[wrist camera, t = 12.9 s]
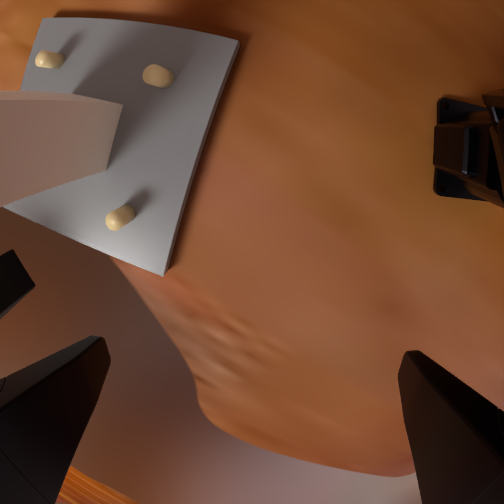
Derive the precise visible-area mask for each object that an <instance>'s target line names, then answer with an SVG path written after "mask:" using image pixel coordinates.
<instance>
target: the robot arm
mask: <svg viewBox="0 0 504 504" xmlns="http://www.w3.org/2000/svg"><path fill="white" fill-rule="evenodd" d="M482 98H483V101H484V104H485V105H486V106H487V108H484V107H480V106H476V105H473V104H469V103H465V102H461V101H456V100H452V99H448V98H441V99H439V100H438V102H437V125H436V126H435V128H434V153H433V164H434V166H435V172H434V184H433V190H434V192H435V193H436V194H437V195H439V196H445V197H454V198H464V199H472V200H481V201H489V202H491V203H493V204H495V205H498V206H500V207H502V208H504V89H502V90H497V91H493V92H489V93H485V94H482ZM443 103H445V104H446V106H447V107H446V109H444V107H443ZM440 185H442V186H443V188H442V190H441V191H439V186H440ZM110 363H111V359H110V354H109V351H108V348H107V345H106V341H105V339H104V338H103V337H101V336H94V335H92V336H89V337H87V338H85V339H83V340H81V341H79V342H77V343H75V344H73V345H71V346H69V347H67V348H65V349H62V350H60V351H58V352H56V353H54V354H52V355H50V356H48V357H46V358H44V359H42V360H40V361H38V362H35V363H33V364H31V365H29V366H27V367H25V368H23V369H21V370H19V371H17V372H15V373H13V374H11V375H9V376H7V377H4V378H2V379H0V504H55V502H56V500H57V497H58V494H59V492H60V489H61V487H62V484H63V481H64V479H65V476H66V474H67V471H68V469H69V466H70V464H71V461H72V459H73V457H74V454H75V452H76V449H77V447H78V445H79V442H80V440H81V438H82V436H83V433H84V431H85V428H86V426H87V424H88V422H89V420H90V417H91V415H92V413H93V411H94V409H95V406H96V404H97V401H98V399H99V396H100V393H101V390H102V387H103V384H104V381H105V378H106V375H107V372H108V370H109V367H110ZM398 383H399V389H400V396H401V403H402V410H403V417H404V423H405V427H406V431H407V435H408V440H409V444H410V448H411V452H412V457H413V461H414V466H415V470H416V475H417V480H418V485H419V490H420V495H421V500H422V504H504V411H502V410H501V409H498V407H497V406H495V405H494V404H493V403H491V402H490V401H489V400H487V399H486V398H484V397H483V396H482V395H480V394H479V393H478V392H476V391H475V390H473V389H472V388H471V387H469V386H468V385H467V384H465V383H464V382H462V381H461V380H460V379H458V378H457V377H455V376H454V375H453V374H451V373H450V372H449V371H447V370H446V369H444V368H443V367H442V366H440V365H439V364H437V363H436V362H435V361H433V360H432V359H430V358H429V357H428V356H426V355H425V354H423V353H422V352H421V351H419V350H412V351H407V352H405V354H404V356H403V359H402V363H401V366H400V369H399V372H398Z"/></svg>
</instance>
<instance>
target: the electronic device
mask: <svg viewBox="0 0 504 504" xmlns="http://www.w3.org/2000/svg"><path fill="white" fill-rule="evenodd" d="M34 287H35V284H34V282H33V281H32V279H31V278H30V276H29V274H28V273H27V271H26V270H25V268H24V267H23V265H22V263H21V262H20V260H19V259H18V257H17V255H16V253H15V252H14V250H13V249H12V250H10V251H8V252H6V253H4V254H3V255H1V256H0V319H1V318H2V317H3V316H4V315H5V314H6V313H8V312H9V310H10V309H12V308H13V307H14V306H15V305H16V304H17V303H18V302H19V301H20V300H21V299H22V298H23V297H25V296H26V295H27V294H28V293H29V292H30V291H31V290H32V289H33V288H34Z"/></svg>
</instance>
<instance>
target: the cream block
mask: <svg viewBox="0 0 504 504" xmlns="http://www.w3.org/2000/svg"><path fill="white" fill-rule="evenodd" d="M122 108H123V105H122V104H118V103H113V102H109V101H105V100H100V99H96V98H91V97H86V96H81V95H76V94H70V93H57V92H38V91H0V207H2V206H5V205H7V204H10V203H12V202H15V201H17V200H20V199H23V198H25V197H28V196H31V195H33V194H36V193H39V192H42V191H44V190H47V189H50V188H53V187H56V186H59V185H62V184H65V183H68V182H71V181H74V180H77V179H80V178H84V177H87V176H90V175H93V174H97V173H100V172H104V171H106V169H107V165H108V160H109V156H110V152H111V148H112V144H113V140H114V136H115V132H116V129H117V125H118V121H119V118H120V114H121V111H122Z"/></svg>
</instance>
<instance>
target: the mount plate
mask: <svg viewBox="0 0 504 504" xmlns="http://www.w3.org/2000/svg"><path fill="white" fill-rule="evenodd" d="M240 45H241V44H240V43H239V41H238V40H235V39H231V38H227V37H222V36H218V35H214V34H209V33H205V32H200V31H195V30H190V29H184V28H179V27H173V26H167V25H160V24H153V23H145V22H137V21H127V20H116V19H100V18H43V20H42V22H41V25H40V27H39V30H38V33H37V36H36V39H35V41H34V44H33V47H32V50H31V54H30V57H29V60H28V63H27V67H26V70H25V74H24V77H23V81H22V85H21V89H20V91H38V92H57V93H70V94H76V95H81V96H86V97H91V98H96V99H100V100H105V101H109V102H113V103H118V104H122V105H123V108H122V111H121V114H120V118H119V121H118V125H117V129H116V132H115V136H114V140H113V144H112V148H111V152H110V156H109V160H108V165H107V169H106V171H104V172H100V173H97V174H93V175H90V176H87V177H84V178H80V179H77V180H74V181H71V182H68V183H65V184H62V185H59V186H56V187H53V188H50V189H47V190H44V191H42V192H39V193H36V194H33V195H31V196H28V197H25V198H23V199H20V200H17V201H15V202H12V203H10V204H7V205H5V206H3V207H4V208H6V209H8V210H10V211H12V212H15V213H17V214H19V215H21V216H23V217H25V218H27V219H29V220H31V221H33V222H36V223H38V224H40V225H42V226H44V227H47V228H49V229H51V230H53V231H56V232H58V233H60V234H62V235H64V236H67V237H69V238H71V239H74V240H76V241H78V242H80V243H83V244H85V245H87V246H90V247H92V248H94V249H97V250H99V251H101V252H104V253H106V254H108V255H111V256H113V257H116V258H118V259H121V260H123V261H125V262H128V263H130V264H133V265H135V266H138V267H140V268H143V269H145V270H148V271H150V272H153V273H155V274H158V275H160V276H164V275H165V273H166V272H167V271H168V267H169V263H170V260H171V256H172V252H173V248H174V244H175V241H176V237H177V233H178V230H179V226H180V222H181V219H182V215H183V212H184V208H185V205H186V202H187V198H188V195H189V191H190V188H191V185H192V182H193V178H194V175H195V172H196V169H197V165H198V162H199V159H200V156H201V153H202V150H203V147H204V144H205V141H206V138H207V135H208V132H209V129H210V126H211V123H212V120H213V117H214V114H215V111H216V109H217V106H218V103H219V100H220V97H221V95H222V92H223V89H224V86H225V84H226V81H227V78H228V76H229V73H230V71H231V68H232V65H233V63H234V60H235V58H236V55H237V52H238V50H239V47H240Z"/></svg>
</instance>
